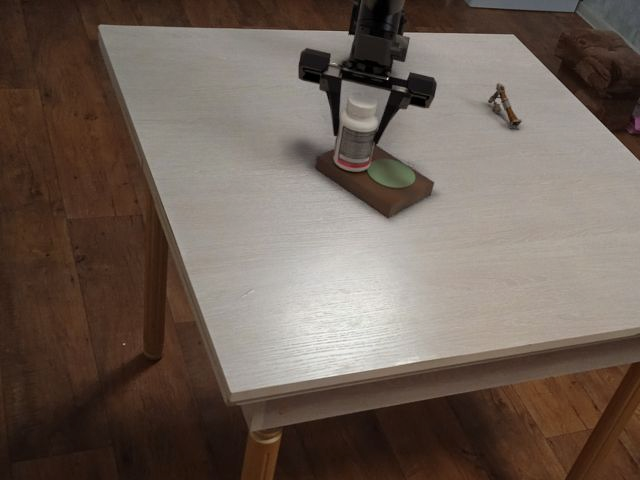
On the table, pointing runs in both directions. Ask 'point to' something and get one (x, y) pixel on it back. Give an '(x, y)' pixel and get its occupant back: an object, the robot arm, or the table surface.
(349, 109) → the pill bottle
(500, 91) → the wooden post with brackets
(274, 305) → the table surface
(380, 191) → the wooden coaster tray
